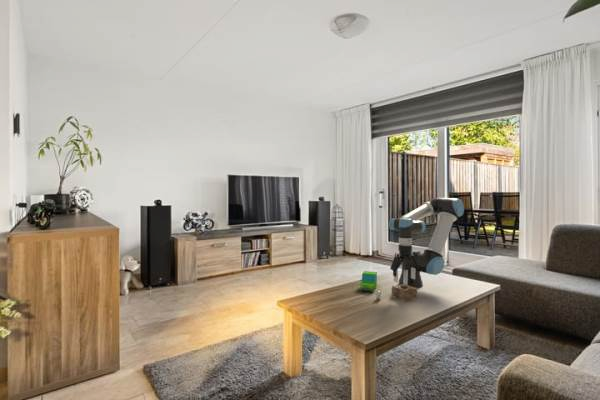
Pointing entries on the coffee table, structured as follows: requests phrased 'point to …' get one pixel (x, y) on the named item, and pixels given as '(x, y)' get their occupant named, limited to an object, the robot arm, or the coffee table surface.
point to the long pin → (405, 279)
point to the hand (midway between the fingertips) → (404, 280)
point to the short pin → (378, 295)
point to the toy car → (368, 281)
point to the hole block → (404, 292)
